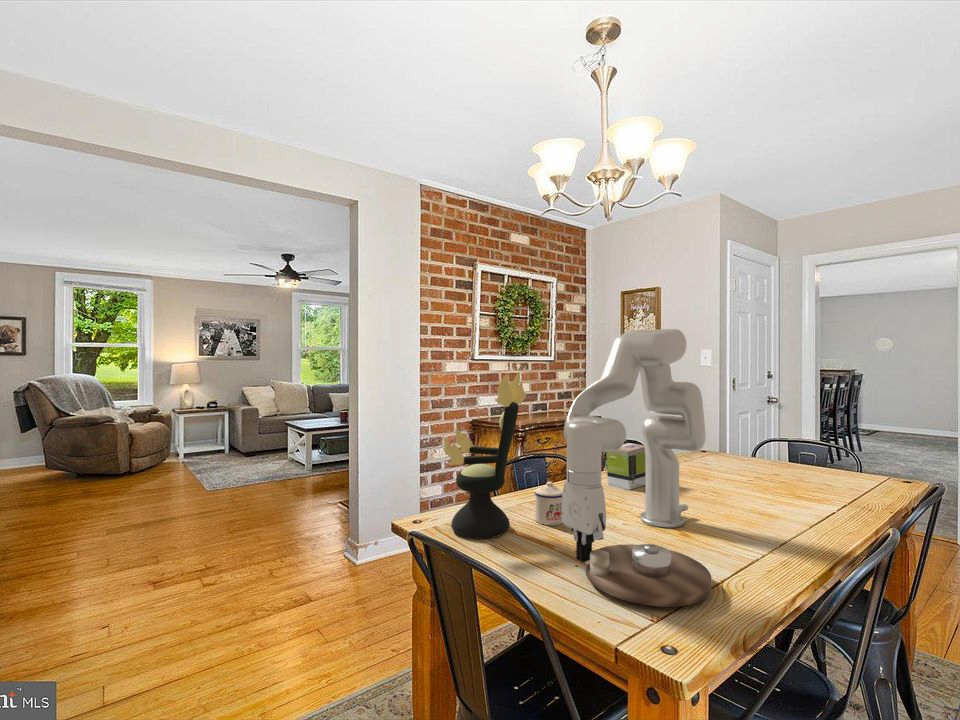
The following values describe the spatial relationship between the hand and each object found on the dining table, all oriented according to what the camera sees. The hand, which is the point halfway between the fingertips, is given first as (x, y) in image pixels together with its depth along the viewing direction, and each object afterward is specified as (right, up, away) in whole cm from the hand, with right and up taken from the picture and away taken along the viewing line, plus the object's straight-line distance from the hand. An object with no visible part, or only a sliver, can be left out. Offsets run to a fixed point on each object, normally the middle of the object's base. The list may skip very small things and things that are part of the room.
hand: (584, 559), depth 109 cm
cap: (+14, -1, -3) cm, 14 cm away
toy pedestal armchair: (-21, -4, +31) cm, 38 cm away
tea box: (+34, -4, +79) cm, 86 cm away
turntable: (+13, -3, -1) cm, 14 cm away
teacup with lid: (-1, -4, +39) cm, 39 cm away
